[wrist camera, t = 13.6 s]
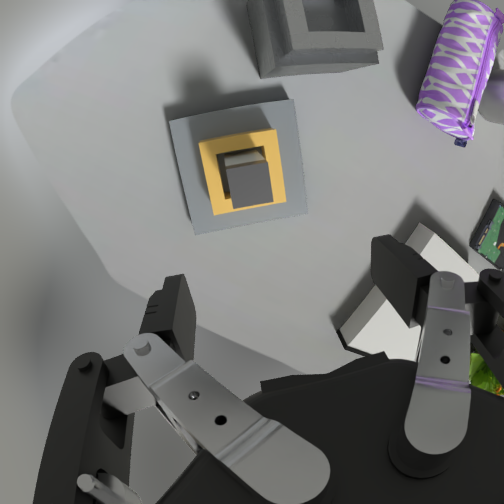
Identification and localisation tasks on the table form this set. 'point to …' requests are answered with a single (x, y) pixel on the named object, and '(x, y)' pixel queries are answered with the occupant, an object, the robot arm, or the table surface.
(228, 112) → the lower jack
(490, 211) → the disk drive
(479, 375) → the potted flower
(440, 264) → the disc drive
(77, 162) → the table surface
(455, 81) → the pencil case
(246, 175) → the plug
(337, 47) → the grey open sleeve
